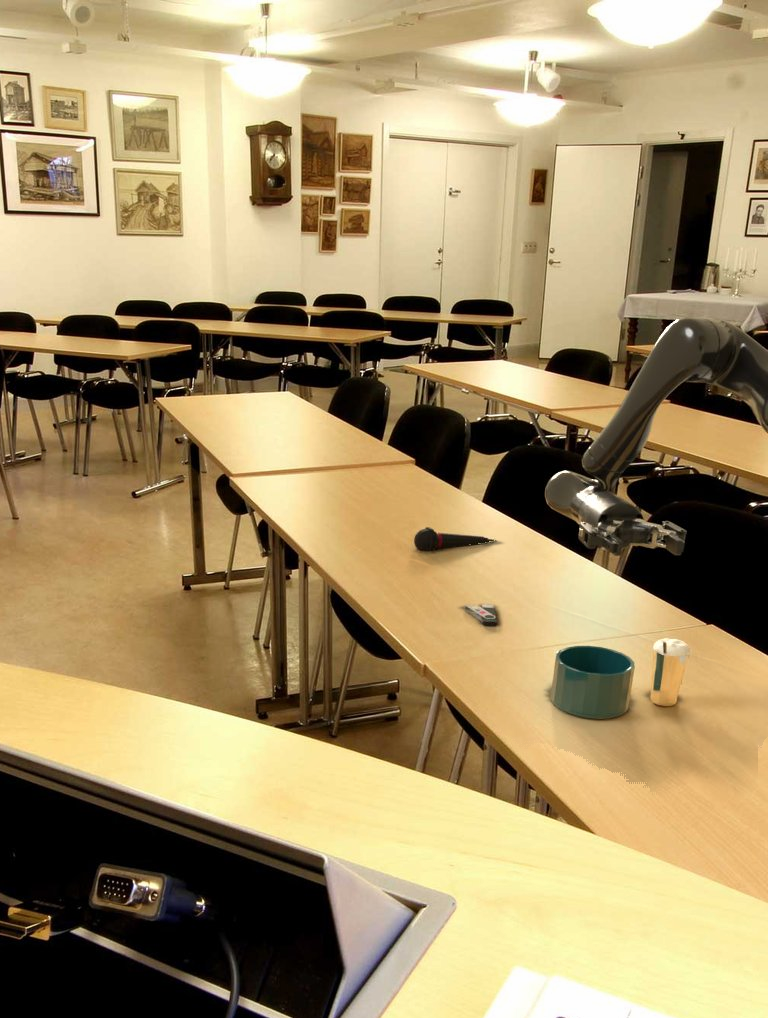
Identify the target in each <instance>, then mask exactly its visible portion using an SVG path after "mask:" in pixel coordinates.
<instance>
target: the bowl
mask: <svg viewBox="0 0 768 1018" xmlns="http://www.w3.org/2000/svg"><path fill="white" fill-rule="evenodd" d="M635 669H636V666H635V661H634V660H633V659H632V658H631V657H630V656H629V655H627V654H625V653H623V652H621V651H618V650H615V649H612V648H608V647H604V646H603V647H601V646H595V645H574V646H567V647H565V648H562V649H559V651H557V652H556V653H555V659H554V666H553V675H552V676H553V677H552V683H551V684H552V685H551V691H550V692H551V693H550V701H551V703H552V704H553V705H554V706H555V707H556V708H558V709H559V710H561V711H562V712H565V713H567V714H570V715H573V716H578V717H582V718H585V719H586V718H587V719H599V720H600V719H601V720H602V719H603V720H604V719H612V718H617V717H620V716H622V715H624V714H625V713H627V711H628V709H629V706H630V702H631V701H630V699H631V693H632V687H633V680H634V673H635Z"/></svg>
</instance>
